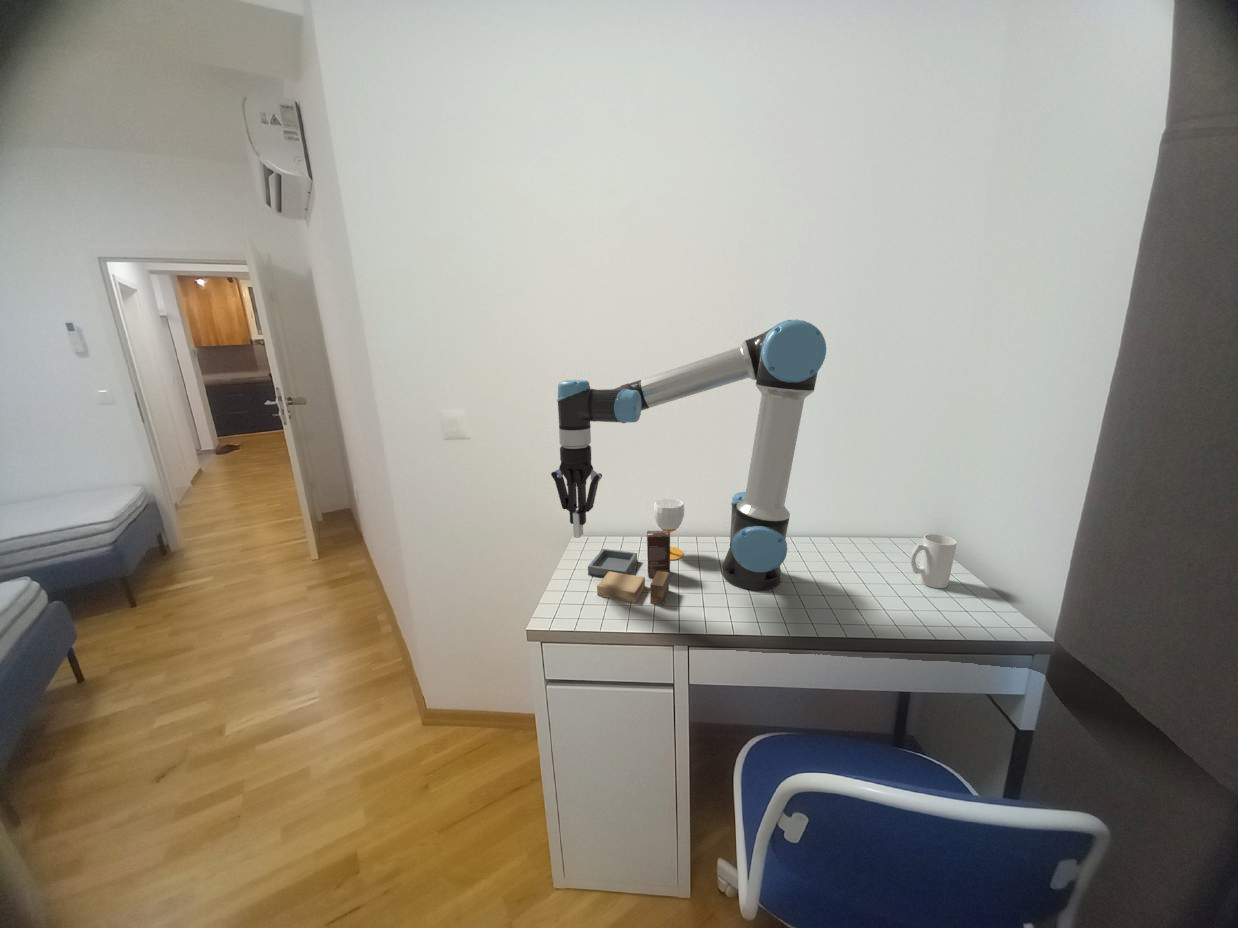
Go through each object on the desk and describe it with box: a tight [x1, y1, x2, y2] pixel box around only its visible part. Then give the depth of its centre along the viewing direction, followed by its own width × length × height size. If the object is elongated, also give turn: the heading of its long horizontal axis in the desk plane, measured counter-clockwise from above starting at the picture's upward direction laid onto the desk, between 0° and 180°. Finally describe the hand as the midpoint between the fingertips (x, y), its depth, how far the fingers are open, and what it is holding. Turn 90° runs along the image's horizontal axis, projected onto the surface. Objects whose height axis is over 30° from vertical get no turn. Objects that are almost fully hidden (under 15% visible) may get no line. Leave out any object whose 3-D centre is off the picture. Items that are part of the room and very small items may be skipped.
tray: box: [587, 548, 638, 578], centre depth 125 cm, size 11×12×2 cm
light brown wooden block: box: [596, 571, 646, 603], centre depth 114 cm, size 10×8×3 cm
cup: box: [653, 497, 685, 561], centre depth 132 cm, size 9×9×16 cm
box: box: [646, 530, 671, 579], centre depth 120 cm, size 6×4×12 cm
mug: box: [910, 533, 958, 589], centre depth 113 cm, size 10×7×12 cm, turn 91°
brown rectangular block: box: [649, 571, 670, 606], centre depth 110 cm, size 3×7×5 cm, turn 162°
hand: (578, 535), depth 114 cm, fingers closed
